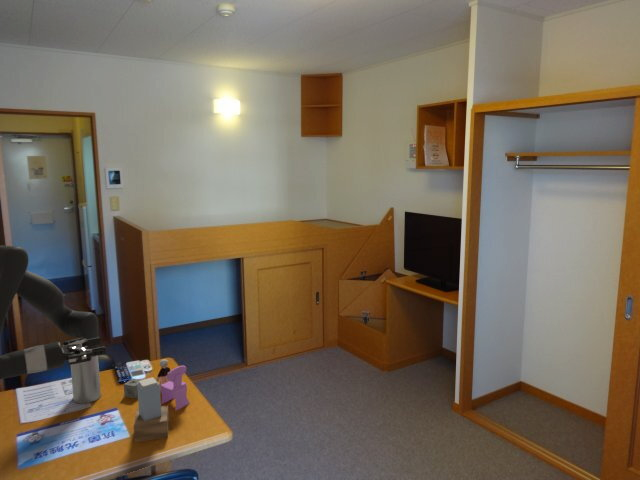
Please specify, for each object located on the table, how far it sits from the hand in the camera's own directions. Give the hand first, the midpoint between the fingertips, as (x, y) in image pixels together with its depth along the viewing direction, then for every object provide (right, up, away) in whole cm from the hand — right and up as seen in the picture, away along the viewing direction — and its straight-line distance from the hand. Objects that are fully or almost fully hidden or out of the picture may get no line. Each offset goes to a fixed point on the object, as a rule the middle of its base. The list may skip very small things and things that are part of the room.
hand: (102, 344), depth 150 cm
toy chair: (+15, -27, +25) cm, 40 cm away
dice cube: (-2, -26, +32) cm, 41 cm away
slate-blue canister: (+13, -24, +6) cm, 28 cm away
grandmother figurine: (+8, -25, +35) cm, 44 cm away
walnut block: (+13, -30, +7) cm, 34 cm away
